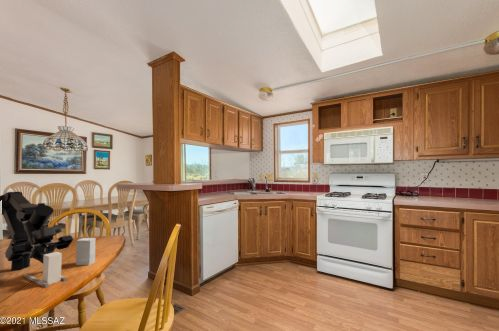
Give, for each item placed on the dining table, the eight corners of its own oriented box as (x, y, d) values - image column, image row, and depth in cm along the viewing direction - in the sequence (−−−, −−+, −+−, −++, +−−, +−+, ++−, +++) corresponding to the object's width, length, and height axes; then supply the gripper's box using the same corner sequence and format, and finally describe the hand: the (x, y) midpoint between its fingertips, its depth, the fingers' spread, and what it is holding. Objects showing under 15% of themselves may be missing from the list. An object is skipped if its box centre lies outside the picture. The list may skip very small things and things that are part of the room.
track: (23, 280, 89) (23, 274, 89) (45, 274, 96) (46, 268, 96) (44, 291, 81) (44, 285, 82) (67, 283, 88) (67, 277, 88)
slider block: (42, 282, 85) (43, 254, 86) (55, 278, 89) (56, 251, 89) (47, 284, 84) (48, 256, 84) (60, 280, 87) (61, 253, 88)
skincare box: (95, 264, 106) (96, 237, 107) (89, 268, 102) (90, 240, 103) (81, 264, 106) (82, 237, 107) (75, 268, 102) (76, 240, 102)
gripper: (11, 223, 83) (23, 260, 77) (71, 215, 99) (85, 245, 93) (2, 242, 86) (12, 279, 80) (61, 232, 102) (74, 262, 97)
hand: (49, 265), depth 88 cm, fingers closed, pressing on slider block
